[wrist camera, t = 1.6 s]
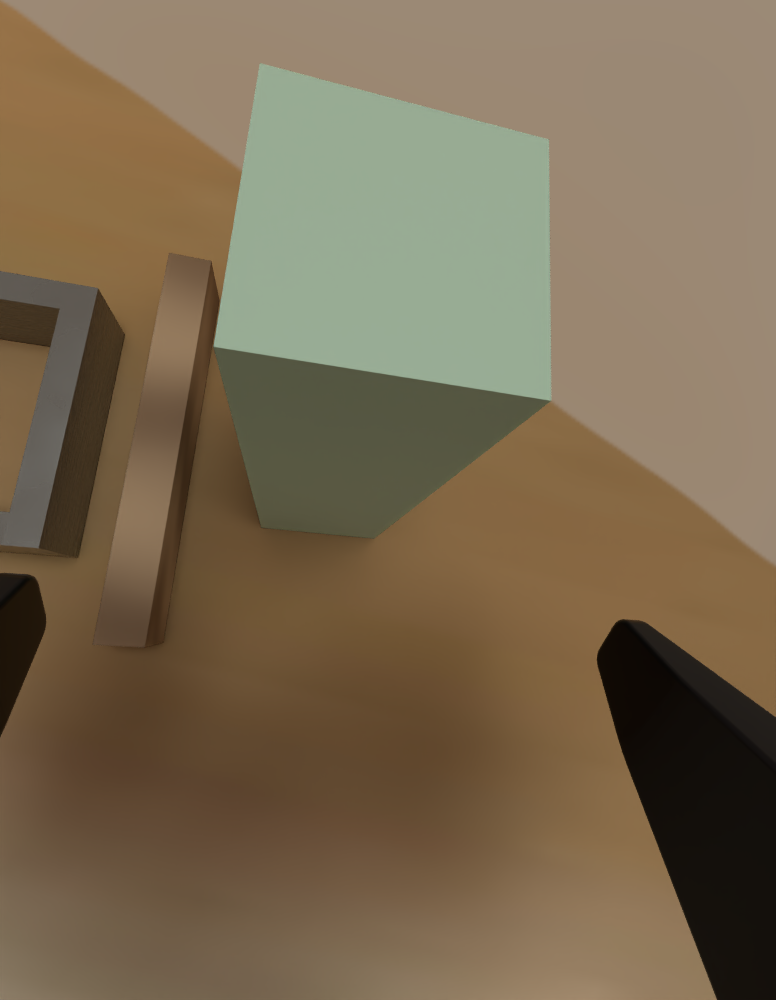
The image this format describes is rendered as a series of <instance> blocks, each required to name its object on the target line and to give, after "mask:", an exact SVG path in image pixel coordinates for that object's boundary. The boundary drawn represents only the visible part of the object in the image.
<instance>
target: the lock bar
mask: <svg viewBox="0 0 776 1000" xmlns="http://www.w3.org/2000/svg"><path fill="white" fill-rule="evenodd" d="M549 213H550V209H549V140H548V139H545V138H541V137H537V136H534V135H529V134H526V133H522V132H518V131H514V130H511V129H507V128H503V127H499V126H495V125H492V124H488V123H484V122H481V121H477V120H472V119H469V118H465V117H462V116H458V115H454V114H450V113H446V112H443V111H439V110H435V109H431V108H428V107H424V106H420V105H416V104H412V103H409V102H405V101H401V100H397V99H393V98H390V97H386V96H382V95H378V94H374V93H371V92H367V91H363V90H359V89H356V88H352V87H348V86H344V85H340V84H337V83H333V82H329V81H325V80H322V79H318V78H314V77H310V76H307V75H303V74H299V73H295V72H291V71H288V70H284V69H280V68H276V67H272V66H268V65H265V64H261V63H260V66H259V72H258V78H257V84H256V91H255V96H254V103H253V109H252V115H251V121H250V127H249V133H248V140H247V145H246V151H245V157H244V164H243V170H242V176H241V182H240V188H239V194H238V200H237V206H236V212H235V219H234V225H233V231H232V237H231V243H230V249H229V255H228V261H227V268H226V274H225V280H224V286H223V292H222V298H221V304H220V310H219V317H218V323H217V329H216V335H215V341H214V350H215V354H216V358H217V362H218V365H219V369H220V373H221V377H222V381H223V384H224V388H225V392H226V396H227V399H228V403H229V407H230V411H231V415H232V418H233V422H234V426H235V430H236V434H237V437H238V441H239V445H240V449H241V453H242V456H243V460H244V464H245V468H246V471H247V475H248V479H249V483H250V487H251V490H252V494H253V498H254V502H255V506H256V509H257V513H258V517H259V521H260V525H261V528H270V529H281V530H291V531H301V532H311V533H322V534H332V535H342V536H352V537H362V538H373V539H374V538H376V537H377V536H378V535H379V534H381V533H382V532H383V531H385V530H386V529H387V528H388V527H390V526H391V525H392V524H394V523H395V522H396V521H397V520H399V519H400V518H401V517H403V516H404V515H405V514H406V513H408V512H409V511H410V510H411V509H413V508H414V507H415V506H417V505H418V504H419V503H420V502H422V501H423V500H424V499H426V498H427V497H428V496H429V495H431V494H432V493H433V492H435V491H436V490H437V489H438V488H440V487H441V486H442V485H444V484H445V483H446V482H447V481H449V480H450V479H451V478H453V477H454V476H455V475H456V474H458V473H459V472H460V471H462V470H463V469H464V468H465V467H467V466H468V465H469V464H471V463H472V462H473V461H474V460H476V459H477V458H478V457H480V456H481V455H482V454H483V453H485V452H486V451H487V450H489V449H490V448H491V447H492V446H494V445H495V444H496V443H498V442H499V441H500V440H501V439H503V438H504V437H505V436H507V435H508V434H509V433H510V432H512V431H513V430H514V429H516V428H517V427H518V426H519V425H521V424H522V423H523V422H525V421H526V420H527V419H528V418H530V417H531V416H532V415H534V414H535V413H536V412H537V411H539V410H540V409H541V408H542V407H544V406H545V405H546V404H548V403H549V402H550V401H551V330H550V329H551V325H550V324H551V323H550V322H551V320H550V218H549V217H550V214H549Z"/></svg>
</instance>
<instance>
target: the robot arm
mask: <svg viewBox="0 0 776 1000" xmlns="http://www.w3.org/2000/svg"><path fill="white" fill-rule="evenodd" d="M45 627H46V614H45V610H44V605H43V601H42V597H41V593H40V588H39V584H38V581H37V580H36V578H35V577H34V576H31V575H27V574H13V573H0V737H1V734H2V732H3V730H4V728H5V725H6V723H7V721H8V719H9V716H10V714H11V711H12V709H13V707H14V704H15V702H16V699H17V697H18V695H19V692H20V690H21V687H22V685H23V683H24V680H25V678H26V675H27V673H28V671H29V668H30V666H31V663H32V661H33V659H34V656H35V654H36V651H37V649H38V646H39V644H40V642H41V639H42V637H43V634H44V631H45ZM597 664H598V669H599V672H600V676H601V679H602V683H603V686H604V690H605V694H606V697H607V701H608V704H609V708H610V711H611V715H612V718H613V722H614V726H615V729H616V733H617V736H618V740H619V743H620V746H621V749H622V752H623V755H624V758H625V761H626V764H627V766H628V769H629V772H630V774H631V777H632V780H633V782H634V785H635V787H636V790H637V793H638V795H639V798H640V800H641V803H642V806H643V808H644V811H645V813H646V816H647V819H648V821H649V824H650V826H651V829H652V832H653V834H654V837H655V840H656V842H657V845H658V847H659V850H660V853H661V855H662V858H663V860H664V863H665V866H666V868H667V871H668V873H669V876H670V879H671V881H672V884H673V886H674V889H675V892H676V894H677V897H678V899H679V902H680V905H681V907H682V910H683V912H684V915H685V918H686V920H687V923H688V926H689V928H690V931H691V933H692V936H693V939H694V941H695V944H696V946H697V949H698V952H699V954H700V957H701V959H702V962H703V965H704V967H705V970H706V972H707V975H708V978H709V980H710V983H711V985H712V988H713V991H714V993H715V996H716V999H717V1000H776V717H775V716H773V715H772V714H770V713H769V712H768V711H766V710H765V709H764V708H762V707H761V706H760V705H758V704H757V703H755V702H754V701H753V700H751V699H750V698H749V697H747V696H746V695H744V694H743V693H742V692H740V691H739V690H738V689H736V688H735V687H733V686H732V685H731V684H729V683H728V682H727V681H725V680H724V679H722V678H721V677H720V676H718V675H717V674H716V673H714V672H713V671H712V670H710V669H709V668H707V667H706V666H705V665H703V664H702V663H701V662H699V661H698V660H696V659H695V658H694V657H692V656H691V655H690V654H688V653H687V652H685V651H684V650H683V649H681V648H680V647H679V646H677V645H676V644H675V643H673V642H672V641H670V640H669V639H668V638H666V637H665V636H664V635H662V634H661V633H659V632H658V631H657V630H655V629H654V628H653V627H651V626H650V625H648V624H647V623H645V622H643V621H639V620H625V619H623V620H619V621H618V622H616V623H615V624H614V626H613V627H612V629H611V631H610V632H609V634H608V636H607V637H606V639H605V641H604V642H603V644H602V645H601V647H600V649H599V651H598V654H597Z"/></svg>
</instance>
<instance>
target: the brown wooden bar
mask: <svg viewBox="0 0 776 1000" xmlns="http://www.w3.org/2000/svg"><path fill="white" fill-rule="evenodd" d="M218 306H219V296H218V291H217V287H216V282H215V277H214V272H213V267H212V262H211V261H209V260H204V259H198V258H193V257H188V256H183V255H177V254H172V253H169V256H168V261H167V266H166V271H165V276H164V281H163V287H162V292H161V297H160V302H159V307H158V312H157V317H156V322H155V328H154V333H153V338H152V343H151V348H150V353H149V358H148V363H147V368H146V374H145V379H144V384H143V389H142V394H141V399H140V404H139V409H138V415H137V420H136V425H135V430H134V435H133V440H132V445H131V450H130V456H129V461H128V466H127V471H126V476H125V481H124V486H123V491H122V496H121V502H120V507H119V512H118V517H117V522H116V527H115V532H114V537H113V543H112V548H111V553H110V558H109V563H108V568H107V573H106V578H105V584H104V589H103V594H102V599H101V604H100V609H99V614H98V619H97V625H96V630H95V635H94V640H93V645H106V646H125V647H144V648H145V647H148V646H152V645H156V644H159V643H163V641H164V635H165V629H166V623H167V616H168V610H169V604H170V598H171V592H172V586H173V580H174V574H175V568H176V562H177V556H178V549H179V543H180V537H181V531H182V525H183V519H184V513H185V507H186V501H187V495H188V489H189V482H190V476H191V470H192V464H193V458H194V452H195V446H196V440H197V434H198V428H199V421H200V415H201V409H202V403H203V397H204V391H205V385H206V379H207V373H208V367H209V361H210V354H211V348H212V342H213V336H214V330H215V324H216V318H217V312H218Z"/></svg>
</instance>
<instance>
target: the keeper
mask: <svg viewBox="0 0 776 1000" xmlns="http://www.w3.org/2000/svg"><path fill="white" fill-rule="evenodd" d="M124 335H125V334H124V332H123V331H122V329H121V327H120V325H119V324H118V322H117V320H116V319H115V317H114V315H113V313H112V312H111V310H110V308H109V306H108V305H107V303H106V301H105V299H104V298H103V296H102V294H101V292H100V291H99V289H98V288H94V287H88V286H82V285H76V284H71V283H65V282H59V281H53V280H48V279H42V278H36V277H30V276H25V275H19V274H13V273H7V272H2V271H0V339H4V340H11V341H18V342H24V343H31V344H38V345H44V346H50V351H49V355H48V359H47V363H46V367H45V371H44V375H43V379H42V383H41V387H40V391H39V395H38V399H37V403H36V407H35V411H34V415H33V420H32V424H31V428H30V432H29V436H28V440H27V444H26V448H25V452H24V456H23V460H22V464H21V468H20V472H19V476H18V480H17V484H16V488H15V493H14V497H13V501H12V505H11V509H10V512H0V552H11V553H23V554H35V555H48V556H60V557H72V558H78V554H79V550H80V545H81V540H82V535H83V531H84V526H85V521H86V516H87V511H88V507H89V502H90V497H91V492H92V488H93V483H94V478H95V473H96V469H97V464H98V459H99V454H100V450H101V445H102V440H103V435H104V430H105V426H106V421H107V416H108V411H109V407H110V402H111V397H112V392H113V388H114V383H115V378H116V373H117V369H118V364H119V359H120V354H121V349H122V345H123V340H124Z"/></svg>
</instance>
